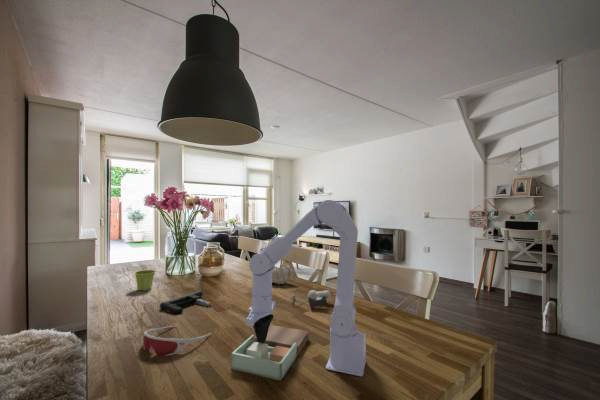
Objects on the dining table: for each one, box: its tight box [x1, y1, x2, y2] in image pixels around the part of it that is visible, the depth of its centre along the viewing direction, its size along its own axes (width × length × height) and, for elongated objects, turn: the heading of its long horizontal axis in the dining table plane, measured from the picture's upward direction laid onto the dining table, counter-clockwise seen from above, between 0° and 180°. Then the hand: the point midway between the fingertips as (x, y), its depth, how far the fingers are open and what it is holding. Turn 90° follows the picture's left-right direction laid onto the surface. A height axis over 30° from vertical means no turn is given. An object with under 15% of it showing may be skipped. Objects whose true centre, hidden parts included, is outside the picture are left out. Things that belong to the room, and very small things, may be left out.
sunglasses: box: [142, 325, 212, 357], centre depth 84 cm, size 17×17×5 cm
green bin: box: [230, 334, 298, 382], centre depth 72 cm, size 14×11×4 cm
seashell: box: [272, 264, 296, 285], centre depth 148 cm, size 10×15×10 cm
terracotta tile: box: [270, 346, 290, 362], centre depth 73 cm, size 4×4×2 cm
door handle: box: [159, 290, 212, 315], centre depth 114 cm, size 3×20×16 cm
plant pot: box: [134, 269, 157, 292], centre depth 137 cm, size 9×9×9 cm
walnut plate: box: [254, 324, 309, 356], centre depth 83 cm, size 14×10×2 cm
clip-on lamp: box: [290, 289, 332, 310], centre depth 117 cm, size 12×6×18 cm
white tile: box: [246, 342, 268, 358], centre depth 76 cm, size 4×4×2 cm
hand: (261, 341), depth 78 cm, fingers closed
